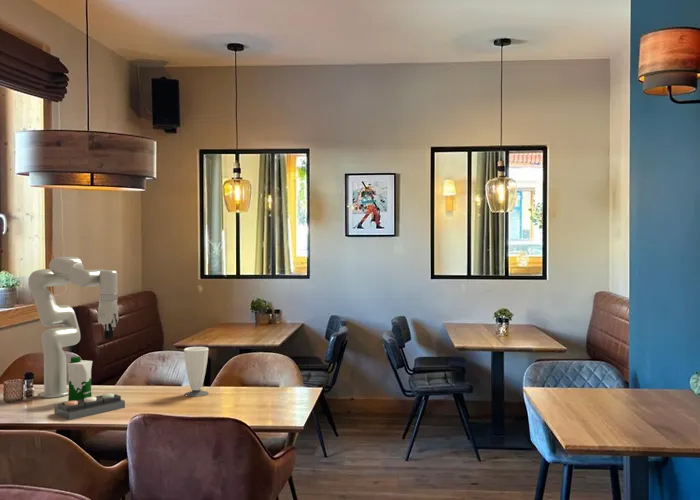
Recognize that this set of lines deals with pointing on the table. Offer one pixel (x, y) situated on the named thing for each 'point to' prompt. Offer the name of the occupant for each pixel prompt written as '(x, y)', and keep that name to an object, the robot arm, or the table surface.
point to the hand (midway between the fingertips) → (108, 339)
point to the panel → (89, 407)
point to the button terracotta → (71, 403)
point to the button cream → (90, 399)
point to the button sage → (107, 395)
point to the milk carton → (79, 379)
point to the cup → (196, 369)
